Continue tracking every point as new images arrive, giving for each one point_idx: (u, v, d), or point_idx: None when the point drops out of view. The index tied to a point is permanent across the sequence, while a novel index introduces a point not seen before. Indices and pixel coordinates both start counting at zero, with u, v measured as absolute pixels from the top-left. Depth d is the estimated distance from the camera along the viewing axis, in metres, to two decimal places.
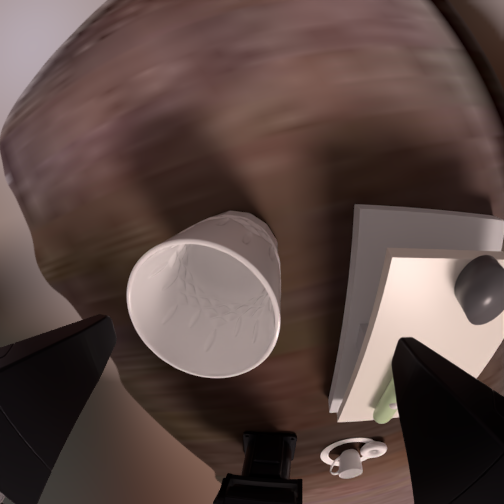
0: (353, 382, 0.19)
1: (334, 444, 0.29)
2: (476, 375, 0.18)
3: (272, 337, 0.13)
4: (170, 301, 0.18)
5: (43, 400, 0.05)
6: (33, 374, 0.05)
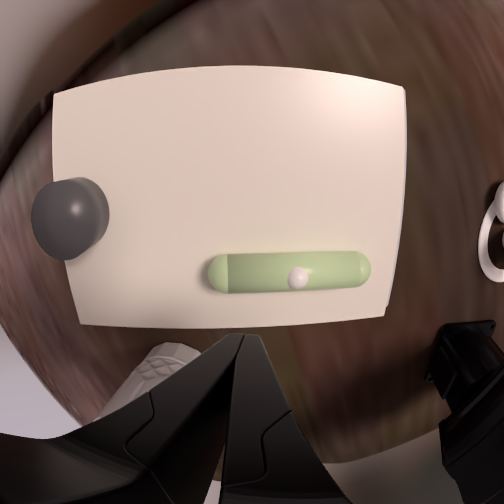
0: None
1: (484, 266, 0.17)
2: (297, 74, 0.11)
3: None
4: None
5: (201, 456, 0.04)
6: (191, 428, 0.04)
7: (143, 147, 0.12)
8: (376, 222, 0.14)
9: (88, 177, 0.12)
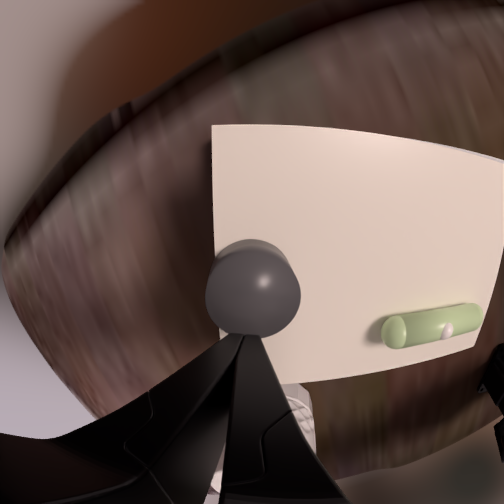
0: None
1: None
2: (458, 156, 0.11)
3: None
4: None
5: (201, 456, 0.04)
6: (191, 428, 0.04)
7: (338, 215, 0.12)
8: (485, 278, 0.14)
9: (269, 241, 0.12)
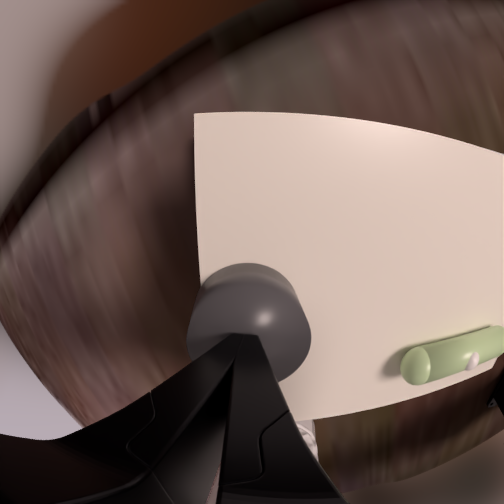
0: None
1: None
2: (493, 159, 0.08)
3: None
4: None
5: (203, 456, 0.04)
6: (193, 428, 0.04)
7: (358, 231, 0.09)
8: None
9: (270, 265, 0.09)
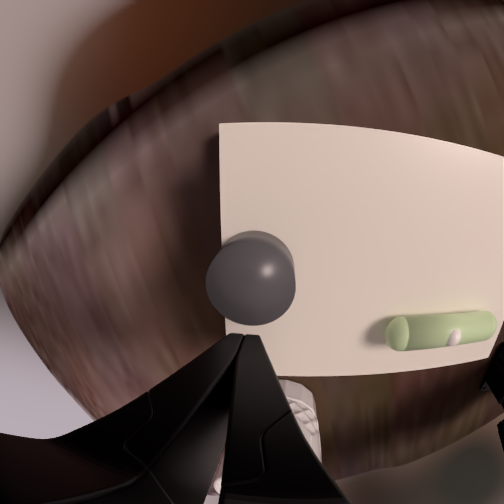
0: None
1: None
2: (472, 154, 0.10)
3: None
4: None
5: (201, 456, 0.04)
6: (190, 428, 0.04)
7: (341, 210, 0.12)
8: (502, 285, 0.12)
9: (272, 233, 0.13)
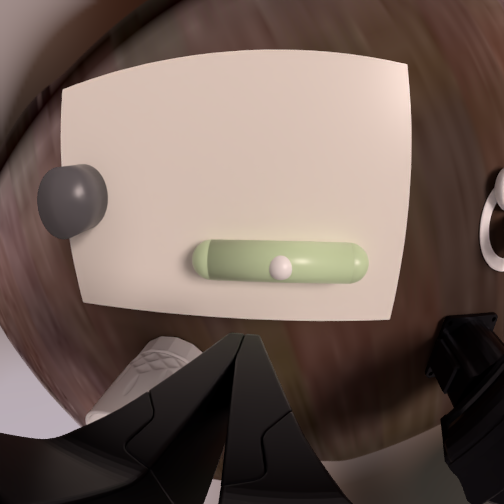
0: (261, 317, 0.15)
1: (486, 255, 0.17)
2: (285, 56, 0.10)
3: None
4: None
5: (201, 456, 0.04)
6: (190, 428, 0.04)
7: (137, 135, 0.12)
8: (379, 212, 0.12)
9: (90, 164, 0.13)
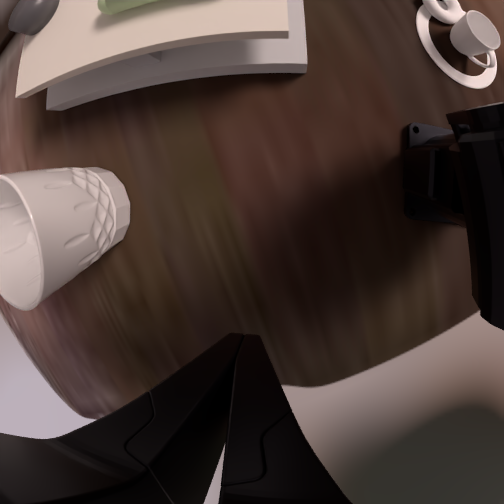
0: (149, 46, 0.11)
1: (437, 61, 0.13)
2: None
3: (2, 179, 0.10)
4: None
5: (201, 456, 0.04)
6: (191, 428, 0.04)
7: None
8: None
9: None
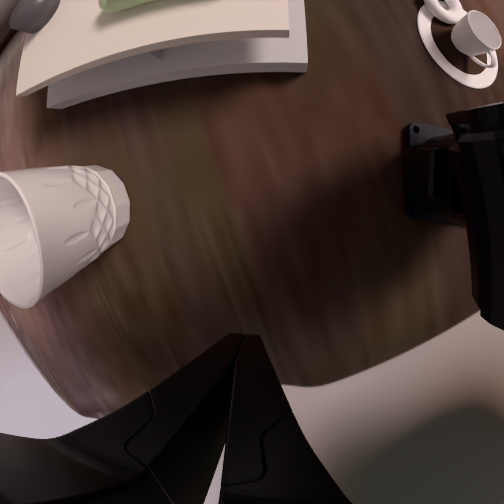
0: (150, 45, 0.11)
1: (438, 60, 0.13)
2: None
3: (2, 177, 0.10)
4: None
5: (201, 456, 0.04)
6: (190, 428, 0.04)
7: None
8: None
9: None
